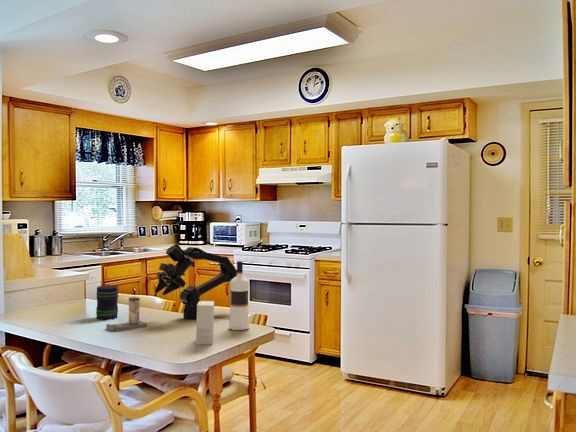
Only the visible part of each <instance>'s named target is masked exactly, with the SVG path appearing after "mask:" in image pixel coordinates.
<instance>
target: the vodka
mask: <svg viewBox="0 0 576 432" xmlns="http://www.w3.org/2000/svg"><path fill="white" fill-rule="evenodd" d="M243 264H244V263H243V261H242V260H237V261H236V270H237V276H236V277H235V278H233V279H232V280H231V281H230V282H229V285H230V286H229V287H230V288H229V290H230V301H229V302H230V305H229V319H228V329H229V330H231V329H232V330H231V331H234V330H243V331H245V330H244V329H247V330H249V329H250V320H249V318H250V317H249V307H250V305H249V289H250V288H249V287H250V281H249V279H247V278H246V277H245V276H243V271H244V270H243V269H244V267H243Z"/></svg>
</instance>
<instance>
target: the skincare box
mask: <svg viewBox="0 0 576 432" xmlns="http://www.w3.org/2000/svg"><path fill="white" fill-rule="evenodd" d="M214 319H215V301H214V300H200V301H199V302H198V304H197V319H196V331H195V332H196V333H195V345H197V346H200V345H201V346H202V345H203V346H205V345H208V346H209V345H210V344H211V346H212V345H213V342H214V325H215V324H214V323H215V321H214Z"/></svg>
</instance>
